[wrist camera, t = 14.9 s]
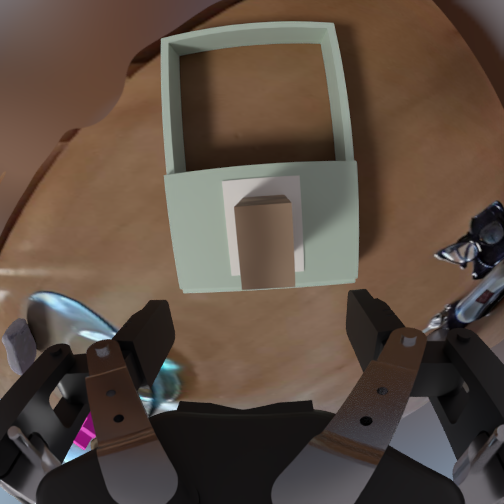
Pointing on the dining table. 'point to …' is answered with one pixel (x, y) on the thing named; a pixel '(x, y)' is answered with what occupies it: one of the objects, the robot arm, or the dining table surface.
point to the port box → (260, 176)
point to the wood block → (265, 242)
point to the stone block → (19, 346)
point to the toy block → (85, 433)
